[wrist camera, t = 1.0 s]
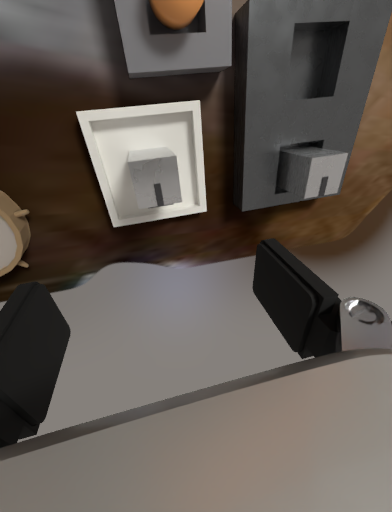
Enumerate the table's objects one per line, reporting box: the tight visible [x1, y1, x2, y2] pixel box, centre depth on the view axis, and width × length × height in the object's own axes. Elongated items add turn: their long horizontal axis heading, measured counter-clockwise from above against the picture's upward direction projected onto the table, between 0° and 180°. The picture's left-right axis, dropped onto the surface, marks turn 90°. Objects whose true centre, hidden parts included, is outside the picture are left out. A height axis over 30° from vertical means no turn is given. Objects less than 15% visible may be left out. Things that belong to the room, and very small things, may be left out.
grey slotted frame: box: [233, 0, 392, 211], centre depth 24 cm, size 18×14×3 cm
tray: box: [76, 100, 207, 227], centre depth 24 cm, size 12×12×2 cm
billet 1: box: [128, 146, 182, 209], centre depth 22 cm, size 4×4×7 cm
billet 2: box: [276, 145, 348, 199], centre depth 25 cm, size 4×4×7 cm
